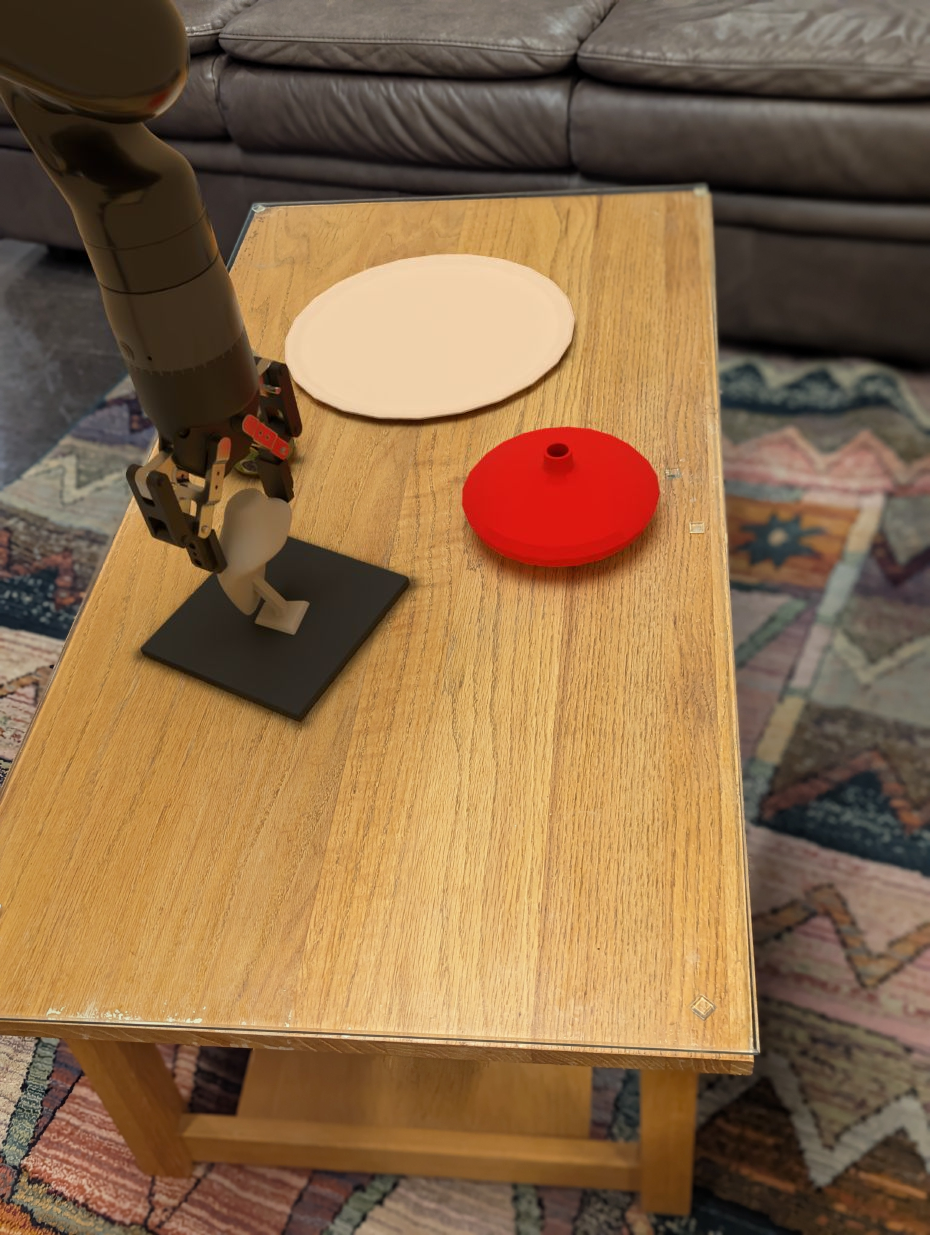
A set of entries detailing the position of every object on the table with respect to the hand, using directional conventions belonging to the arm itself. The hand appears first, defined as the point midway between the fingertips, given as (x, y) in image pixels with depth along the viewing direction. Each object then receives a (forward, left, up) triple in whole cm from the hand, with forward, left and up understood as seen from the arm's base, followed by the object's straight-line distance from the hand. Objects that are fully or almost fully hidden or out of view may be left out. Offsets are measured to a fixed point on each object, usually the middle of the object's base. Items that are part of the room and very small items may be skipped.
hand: (248, 532), depth 77 cm
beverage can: (+15, +13, -9) cm, 22 cm away
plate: (+38, +9, -9) cm, 40 cm away
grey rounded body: (0, 0, -9) cm, 9 cm away
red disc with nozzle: (+19, -15, -9) cm, 26 cm away
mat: (0, 0, -9) cm, 9 cm away
